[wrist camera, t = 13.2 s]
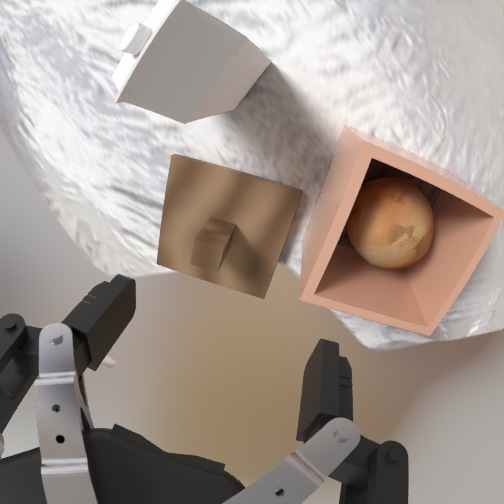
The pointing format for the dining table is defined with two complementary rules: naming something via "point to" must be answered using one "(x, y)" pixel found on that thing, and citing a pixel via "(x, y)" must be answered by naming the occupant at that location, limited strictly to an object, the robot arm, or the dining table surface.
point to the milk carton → (186, 63)
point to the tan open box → (404, 278)
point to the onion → (391, 222)
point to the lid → (224, 224)
